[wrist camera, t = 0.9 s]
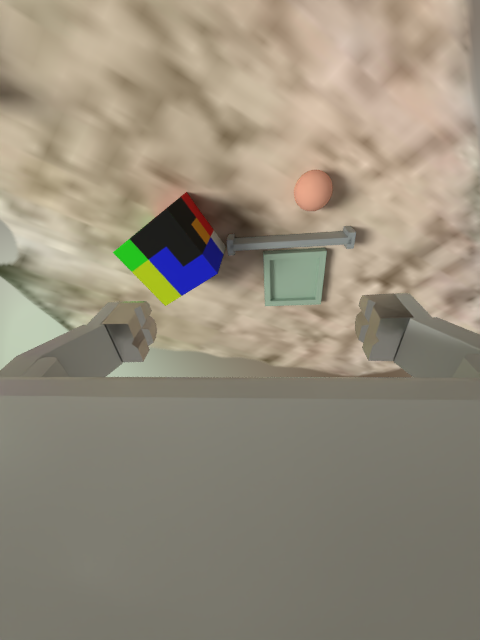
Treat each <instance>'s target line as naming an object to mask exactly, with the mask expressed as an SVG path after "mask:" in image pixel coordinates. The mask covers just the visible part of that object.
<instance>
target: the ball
mask: <svg viewBox="0 0 480 640" xmlns="http://www.w3.org/2000/svg"><path fill="white" fill-rule="evenodd" d="M332 190H333V186H332V181H331V179H330V177H329V176H328V175H327V174H326V173H325V172H323V171H320V170H311V171H308V172H306V173H305V174H303V175H302V176H301V177H300V178H299V180H298V181H297V183H296V186H295V189H294V196H295V200H296V203H297V204H298V205H299V207H301V208H302V209H304V210H306V211H316V210H319V209H321V208H322V207H324V206H325V205H326V204H327V203H328V201H329V200H330V198H331V195H332Z"/></svg>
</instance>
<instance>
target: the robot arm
mask: <svg viewBox="0 0 480 640" xmlns="http://www.w3.org/2000/svg"><path fill="white" fill-rule="evenodd" d="M359 307H360V309H361V312H360V313H359V314H358V315H357V316H356V321H355V331H356V335H357V338H358V340H360V341H361V342H363V347H362V348H363V350H364V352H365V355H366V357H367V359H368V361H394V363H396V364H397V365H398V366H400V367H401V368H402V369H403V370H405V371H406V372H407V373H409V374H410V375H411V376H413V377H414V378H364V377H337V378H336V377H328V378H326V377H323V378H322V377H320V378H319V377H310V378H308V377H304V378H303V377H299V378H298V377H290V378H289V377H281V378H280V377H276V378H275V377H106V376H107V375H108V374H110V373H111V372H112V371H113V370H115V369H116V368H117V367H118V366H120V365H121V364H122V362H143V361H144V359H145V357H146V356H147V354H148V352H149V347H148V346H149V345H150V344H152V343H153V342H154V340H155V338H156V334H157V327H156V323H155V320H154V319H153V318H152V317H151V316H150V313H151V311H152V310H151V308H150V305H149V303H147V302H146V301H143V302H109V303H107V304H106V305H105V306H104V307H103V308H102V309H101V310H100V311H99V312H98V313H97V315H96V316H95V317H94V318H93V319H92V320H91V321H90V322H89V323H88V324H87V325H82V326H80V327H77V328H75V329H73V330H71V331H69V332H67V333H65V334H63V335H60V336H58V337H56V338H54V339H52V340H50V341H48V342H46V343H44V344H42V345H39V346H37V347H35V348H33V349H31V350H29V351H27V352H24V353H22V354H20V355H18V356H16V357H15V358H14V359H13V360H12V361H10V362H9V363H8V364H7V365H6V366H5V367H4V368H3V369H1V370H0V640H480V335H479V334H477V333H474V332H472V331H469V330H467V329H464V328H462V327H459V326H457V325H455V324H452V323H450V322H447V321H445V320H442V319H440V318H437V317H436V318H432V317H431V316H430V315H429V314H428V312H427V311H426V310H425V309H424V308H423V307H422V306H421V305H420V304H419V303H418V302H417V301H416V300H415V299H414V298H413V297H412V296H411V295H410V294H408V293H396V294H377V295H363V296H362V297H361V299H360V302H359Z"/></svg>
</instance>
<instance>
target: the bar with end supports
mask: <svg viewBox="0 0 480 640" xmlns="http://www.w3.org/2000/svg"><path fill="white" fill-rule="evenodd" d="M355 237H356V231H355V230H354V229H353V228H352V227H351V226H344V229H343V231H336V232H321V233H305V234H289V235H274V236H258V237H243V238H235V234H228V237H227V249H228V255H235V251H240V250H257V249H274V248H291V247H308V246H325V245H342V244H344V246H345V247H346V249H351V248H354V243H355Z"/></svg>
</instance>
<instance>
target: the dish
mask: <svg viewBox="0 0 480 640" xmlns="http://www.w3.org/2000/svg"><path fill="white" fill-rule="evenodd" d="M326 254H327V250H326V249H325V248H309V249H292V250H274V251H263V259H264V287H265V306H284V305H312V304H321V297H322V288H323V280H324V271H325V263H326Z"/></svg>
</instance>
